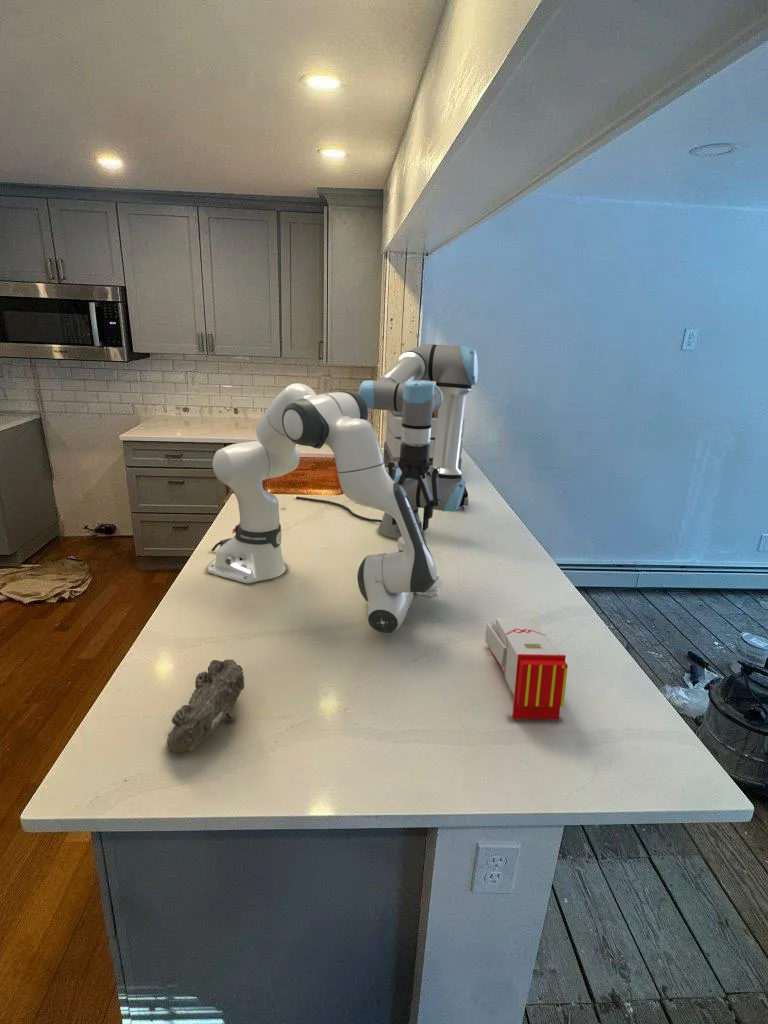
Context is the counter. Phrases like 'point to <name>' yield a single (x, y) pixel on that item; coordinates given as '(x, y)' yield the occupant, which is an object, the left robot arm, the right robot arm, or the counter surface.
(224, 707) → the fossil
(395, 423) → the grey slatted crate
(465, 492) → the figurine character
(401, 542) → the lid
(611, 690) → the counter surface
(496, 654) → the toy
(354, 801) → the counter surface
